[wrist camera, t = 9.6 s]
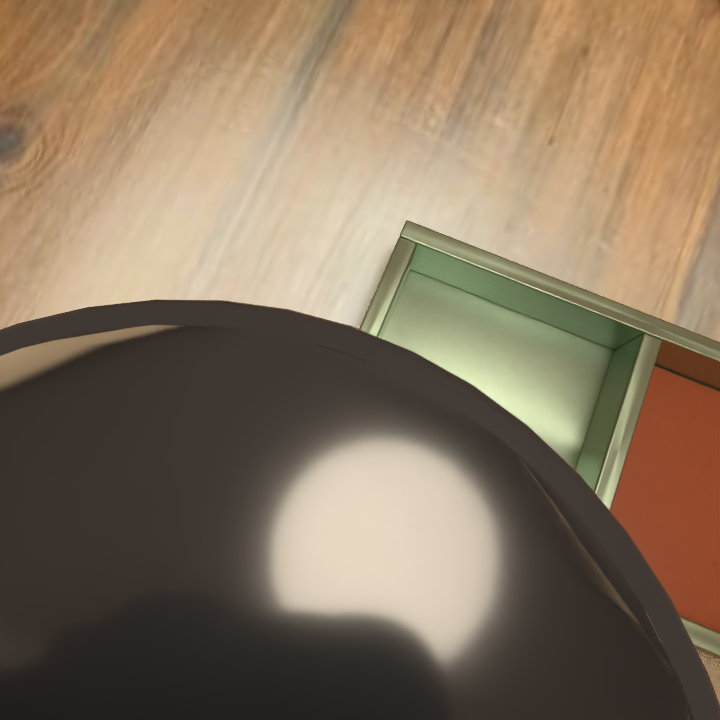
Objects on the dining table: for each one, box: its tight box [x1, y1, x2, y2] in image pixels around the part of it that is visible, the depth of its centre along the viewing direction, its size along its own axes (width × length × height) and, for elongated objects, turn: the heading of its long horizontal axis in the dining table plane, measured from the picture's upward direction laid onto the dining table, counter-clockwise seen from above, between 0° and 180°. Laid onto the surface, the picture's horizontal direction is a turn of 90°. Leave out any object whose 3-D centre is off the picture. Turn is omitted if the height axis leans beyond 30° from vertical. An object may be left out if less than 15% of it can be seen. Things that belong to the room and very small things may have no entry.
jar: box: [0, 300, 720, 720], centre depth 8 cm, size 7×7×11 cm
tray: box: [360, 221, 720, 659], centre depth 22 cm, size 10×19×3 cm, turn 68°
